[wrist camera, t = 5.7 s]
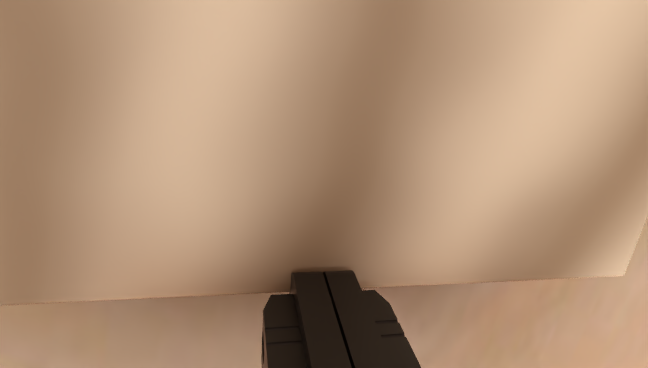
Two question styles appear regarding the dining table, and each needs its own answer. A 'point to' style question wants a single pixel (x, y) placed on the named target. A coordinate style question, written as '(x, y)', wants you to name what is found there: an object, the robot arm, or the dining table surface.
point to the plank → (317, 143)
